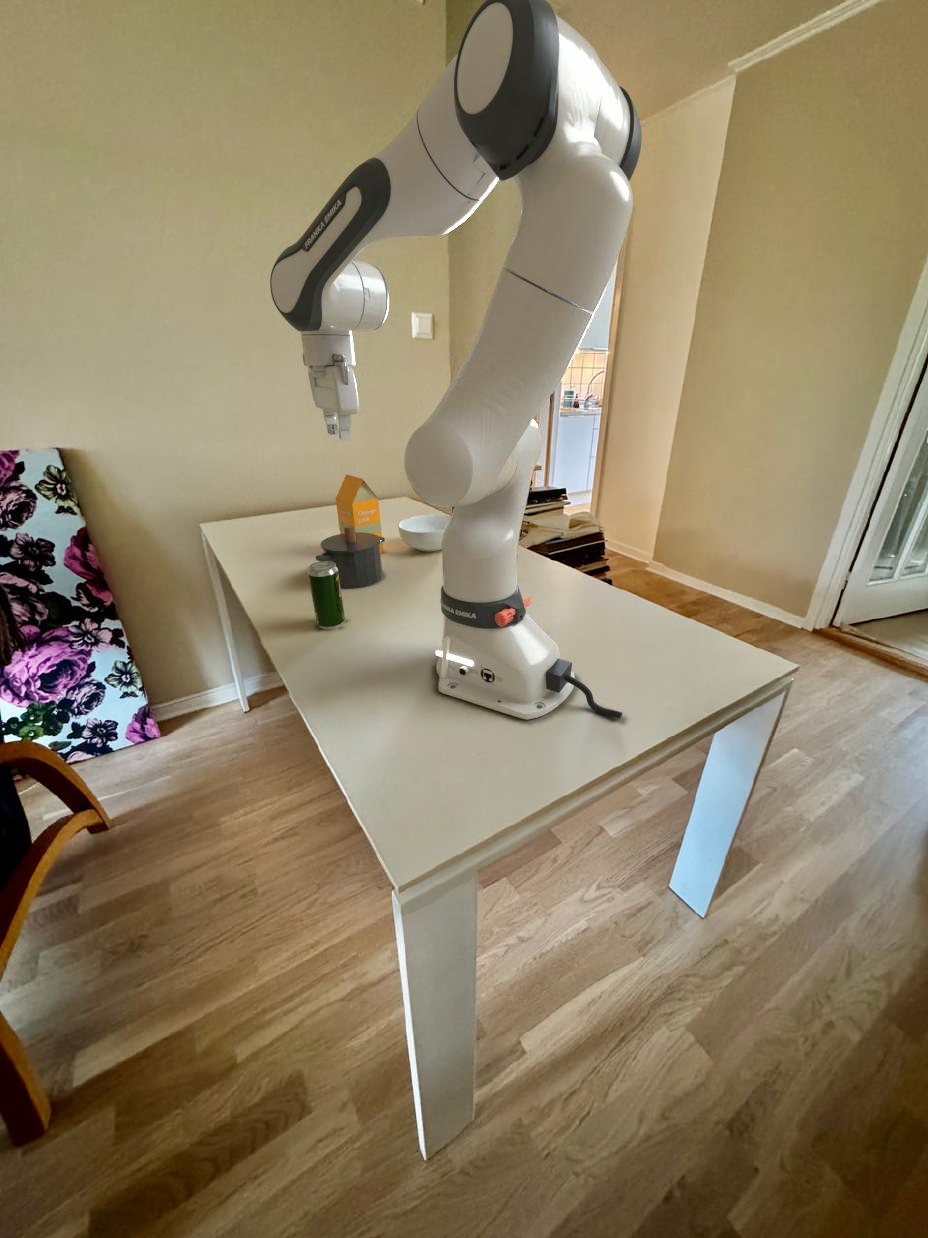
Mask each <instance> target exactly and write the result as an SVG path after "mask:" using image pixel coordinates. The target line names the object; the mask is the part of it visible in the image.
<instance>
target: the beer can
mask: <svg viewBox="0 0 928 1238" xmlns="http://www.w3.org/2000/svg"><path fill="white" fill-rule="evenodd" d="M307 569H308V570H307V576H308V577H307V578H308V581H309V582H308V583H309V587H310V593H311V599H312V605H313V609H314V617H315V622H316V625H317V626H318V627H319V628H320V629H321V630H327V631H329V630H336V629H339V628H341V627H342V626H343V625H344V624H345V621H346V616H345V608H344V603H343V595H342V588H341V587H340V581H339V574H338V569H337V567H336V564H335V563H334V562H330V561H321V562H320V561H317V562H313V563H310V564H309V565H308V567H307Z"/></svg>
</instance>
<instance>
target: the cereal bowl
mask: <svg viewBox="0 0 928 1238" xmlns="http://www.w3.org/2000/svg"><path fill="white" fill-rule="evenodd" d="M451 516H452V515H446V514H422V515H421V514H420V515H414V516H411V517H408V518H405V519H402V520H401V521H400V522H399V523H398V525H397V527H398V533H399V537H400V539H401V540H402V542H403V543H404V544H405V545H407V546H408V547H411V548H414V549H417V550H418V551H421V552H428V553H429V552H430V553H431V552H438V551H442V538H443V534H444V531H445V529H446V527H447V526H448V524H449V521H450V519H451Z"/></svg>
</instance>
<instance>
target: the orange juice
mask: <svg viewBox="0 0 928 1238" xmlns="http://www.w3.org/2000/svg"><path fill="white" fill-rule="evenodd" d="M335 503H336V504H335V505H336V512H337V521H338V527H339V528H338V529H339V534H344V526H346V525H354V527H355V532H362V533H371V534H375V535H377V536H380V537H383V535H382V522H381V514H380V503H379V498H378V497H377V494H375V492H374V491H373V490H372V489H371V487H370V486H369V485H368V483H367V482H366V481H365V480H364V478H361V477H357V476H353V475H350V474H345V475H344V478H343V481H342V483H341V486H340V487H339V490H338V493H337V494H336V497H335ZM380 553H381V554H383V553H384V547H383V542H382V543H380Z"/></svg>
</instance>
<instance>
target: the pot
mask: <svg viewBox="0 0 928 1238" xmlns="http://www.w3.org/2000/svg"><path fill="white" fill-rule="evenodd" d="M379 537H380V536H379ZM380 538H381V543H382V544H383V543H384V542H385V541H386V540H385V537H384V536H382V537H380ZM381 554H382V553H380V544H379V545H378V546H377V547H375V548H372V549H370V550H366V551H362V552H356V553H332V552H328V551H325V550H323V549H322V553H320V554H317V555H315V560H316V561H317V562H321V561H330V562H334V563H335V564H336V567H337V569H338V574H339V581H340V587H341V589H358V588H364V587H368V586H372V585H374V584H376V583H378V582H379V581H380V580H382V578H383V566H382V565H383V564H382V555H381Z"/></svg>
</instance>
